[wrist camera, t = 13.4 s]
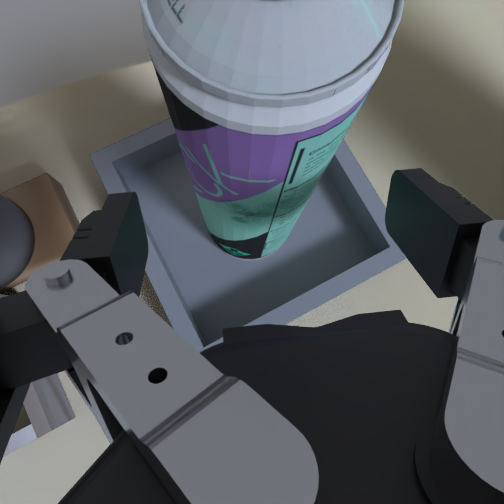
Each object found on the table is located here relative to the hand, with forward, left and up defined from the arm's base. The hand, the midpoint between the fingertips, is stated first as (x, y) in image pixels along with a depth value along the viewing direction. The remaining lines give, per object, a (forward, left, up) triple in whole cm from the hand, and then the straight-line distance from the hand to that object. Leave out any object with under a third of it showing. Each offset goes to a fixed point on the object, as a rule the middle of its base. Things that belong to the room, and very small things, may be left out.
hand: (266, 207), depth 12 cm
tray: (-1, -3, -13) cm, 14 cm away
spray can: (-1, -3, -12) cm, 13 cm away
